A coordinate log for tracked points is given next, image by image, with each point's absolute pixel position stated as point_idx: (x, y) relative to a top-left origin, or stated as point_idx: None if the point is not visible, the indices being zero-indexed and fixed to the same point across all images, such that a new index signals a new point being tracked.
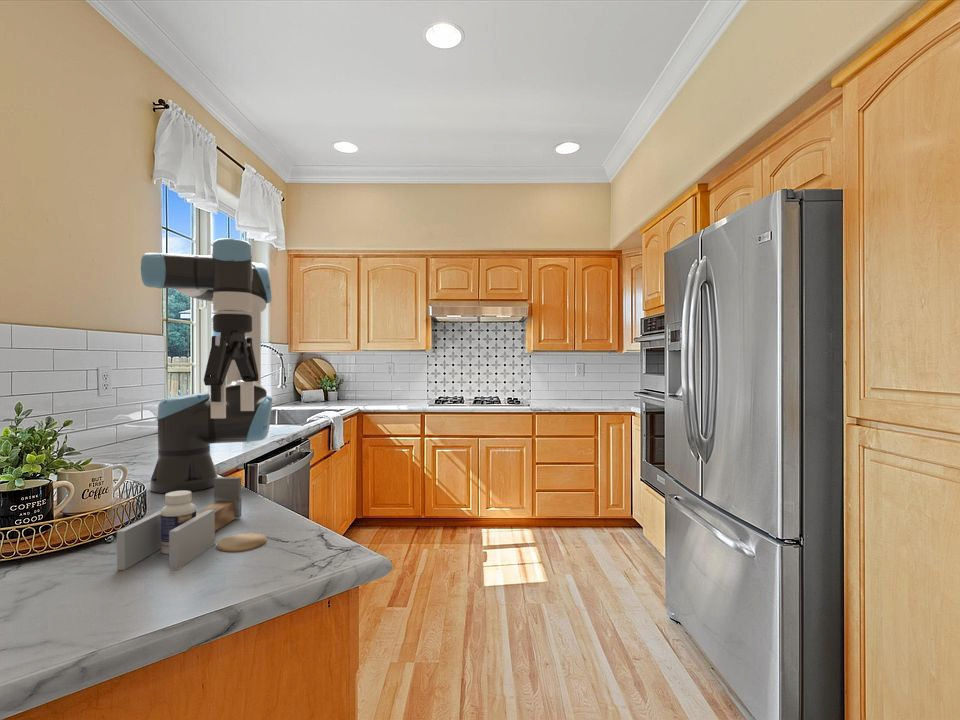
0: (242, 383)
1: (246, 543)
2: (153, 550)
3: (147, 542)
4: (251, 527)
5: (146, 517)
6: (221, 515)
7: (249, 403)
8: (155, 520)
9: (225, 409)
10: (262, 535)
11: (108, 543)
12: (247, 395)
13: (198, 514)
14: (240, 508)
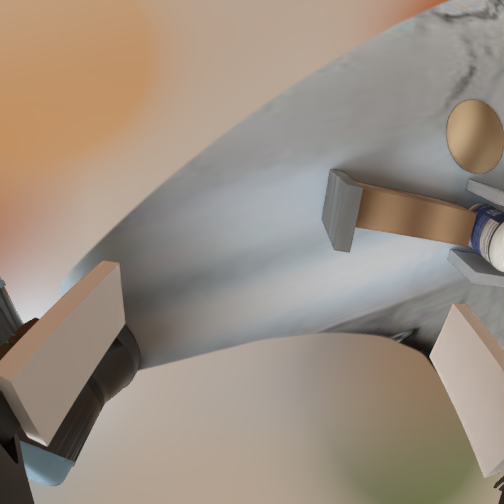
0: (46, 428)
1: (491, 128)
2: (479, 255)
3: None
4: (397, 134)
5: (501, 285)
6: (403, 194)
7: (101, 302)
8: (496, 273)
9: (475, 327)
10: (462, 106)
11: (419, 329)
12: (78, 343)
13: (437, 229)
14: (337, 172)
